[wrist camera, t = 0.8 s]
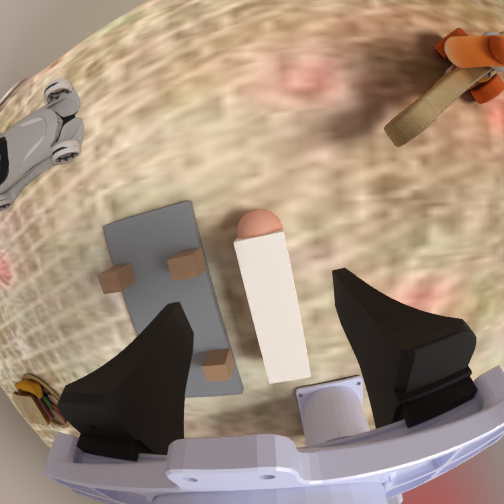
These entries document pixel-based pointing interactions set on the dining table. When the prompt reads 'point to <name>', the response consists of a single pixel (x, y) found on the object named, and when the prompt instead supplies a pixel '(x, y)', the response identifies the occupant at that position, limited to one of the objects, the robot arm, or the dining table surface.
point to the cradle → (173, 289)
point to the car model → (40, 141)
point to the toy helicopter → (454, 82)
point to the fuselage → (272, 295)
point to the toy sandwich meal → (38, 402)
